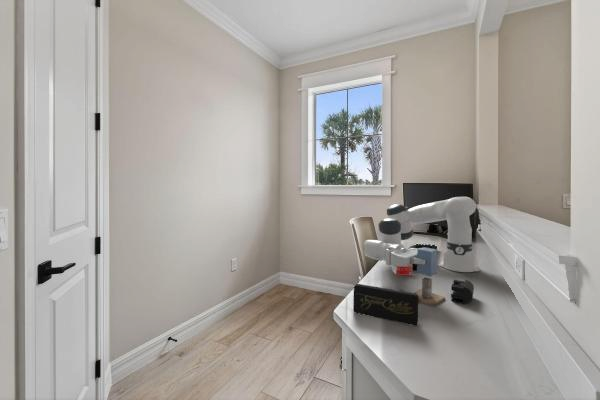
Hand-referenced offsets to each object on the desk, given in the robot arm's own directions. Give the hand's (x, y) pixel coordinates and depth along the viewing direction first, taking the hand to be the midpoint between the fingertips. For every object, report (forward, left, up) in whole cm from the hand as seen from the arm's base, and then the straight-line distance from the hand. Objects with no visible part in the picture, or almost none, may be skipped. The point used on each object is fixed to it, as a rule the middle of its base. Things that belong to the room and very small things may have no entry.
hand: (429, 260), depth 106 cm
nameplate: (+24, -12, -16) cm, 31 cm away
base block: (0, -1, -16) cm, 16 cm away
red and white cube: (-30, -14, -16) cm, 37 cm away
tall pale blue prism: (0, -1, -5) cm, 5 cm away
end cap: (-7, +12, -16) cm, 21 cm away
